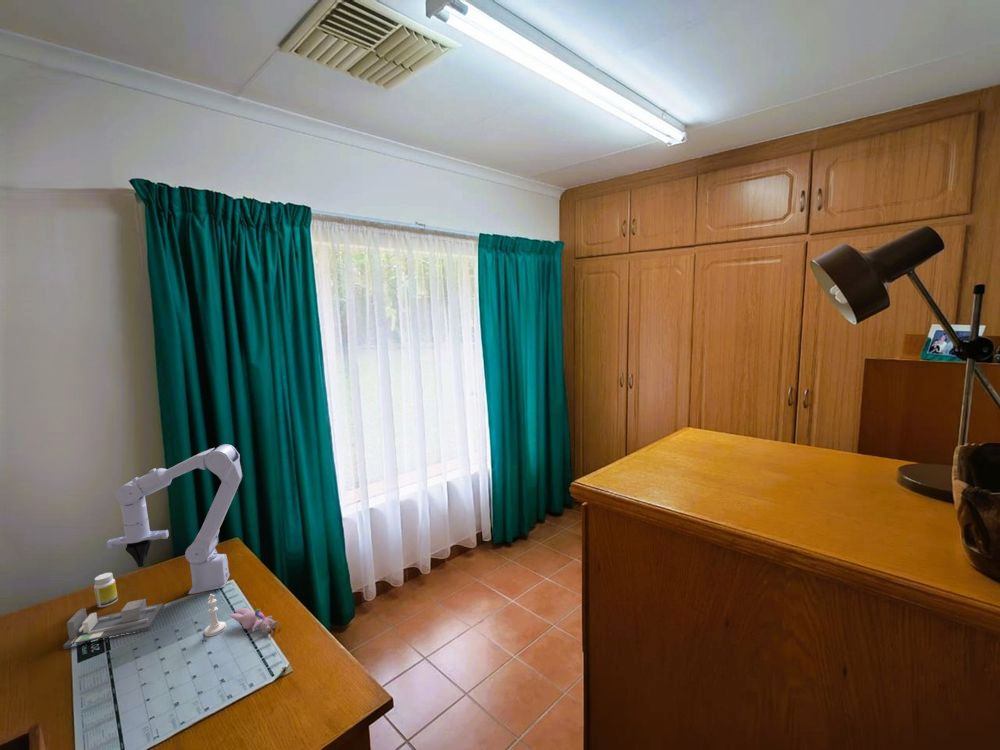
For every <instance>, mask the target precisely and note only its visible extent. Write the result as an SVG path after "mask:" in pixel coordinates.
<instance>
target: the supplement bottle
mask: <svg viewBox="0 0 1000 750" xmlns="http://www.w3.org/2000/svg"><path fill="white" fill-rule="evenodd" d="M116 583H117V582H116V579H115V578H114V575H113V573H112V572H104V573H102V574H98V575H97V576H96V577H94V586H93V591H94V595H95V602H96V606H97V608H105V607H109V606H111V605H114V603H116V602H118V600H119V596H118V590H117V584H116Z"/></svg>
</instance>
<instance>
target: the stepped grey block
mask: <svg viewBox="0 0 1000 750" xmlns="http://www.w3.org/2000/svg"><path fill="white" fill-rule="evenodd" d="M147 607H148V606H147V601H146V598H141V599H138V600H133V601H128V602H127V603H126V604H125V605H124V606H123V608H122V609H121V610H120V612H121V613H120V612H119V613H120V614H115V613H114V614H115V615H111V616H109V620H111V619H115V618H120V617H122V623H123V624H125V623H129V622H134V621H138V620H142V618H143V617H144V615H145V614H146V612H147Z"/></svg>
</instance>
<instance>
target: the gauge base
mask: <svg viewBox="0 0 1000 750" xmlns="http://www.w3.org/2000/svg"><path fill="white" fill-rule="evenodd" d="M146 607H147V612H146V614H145V615H144V617H143V618H142V620H138V621H134V622H129V623H125V624H123V623H122V617H120V618H115V619H111V620H109V616H111V615H115V614H120V613H121V611H120V612H116V613H115V612H114V613H111V614H110V613H109V614H106V615H102V616H97V620H98V622H97V623H96V625H95V626H94V627H93V628H92V629H91V631H89V632H87V633H84V632H83V630H82V631H81V632H79V629H80V628H81V627H82V623H83V622H84V621H85V619H86V618H87V617H88V614H87V609H86V608H80V609H78V610H77V611H76V612H75V614H73V615H72V617H70V618H69V620H68V621H67V622H66V628H67V633H68V639H67V640H66V642H65V643H64V644H63V645H62V647H63V650H66V649H71V646H72V644H74V643H78V642H79V643H80V642H84V641H89V640H95V639H100V638H107V637H110V636H116V635H121V634H126V633H133V632H138V631H142V632H146V631H150V629H151V628H152V626H153V625H154V623H155V621H156V620H157V618H158V617H159V615H160V614H161V612H162V610H163V608H165V603H164V602H163V603H157V604H154V605H150V606H149V605H148V606H146ZM145 630H146V631H145ZM138 633H139V632H138ZM133 634H134V633H133Z"/></svg>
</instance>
